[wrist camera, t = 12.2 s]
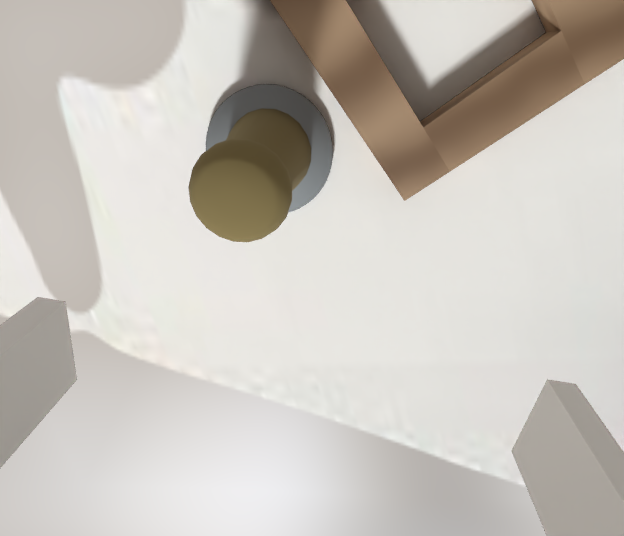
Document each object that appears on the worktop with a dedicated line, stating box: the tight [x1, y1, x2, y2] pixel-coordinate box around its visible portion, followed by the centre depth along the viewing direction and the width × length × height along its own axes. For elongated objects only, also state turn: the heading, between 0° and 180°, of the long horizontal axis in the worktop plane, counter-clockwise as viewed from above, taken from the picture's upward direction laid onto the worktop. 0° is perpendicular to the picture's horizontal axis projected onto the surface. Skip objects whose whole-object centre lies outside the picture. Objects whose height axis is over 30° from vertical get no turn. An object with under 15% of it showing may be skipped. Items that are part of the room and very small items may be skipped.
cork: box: [189, 108, 311, 242], centre depth 25 cm, size 6×6×11 cm
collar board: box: [270, 0, 624, 201], centre depth 25 cm, size 16×16×2 cm
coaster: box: [206, 84, 333, 212], centre depth 30 cm, size 9×9×1 cm
